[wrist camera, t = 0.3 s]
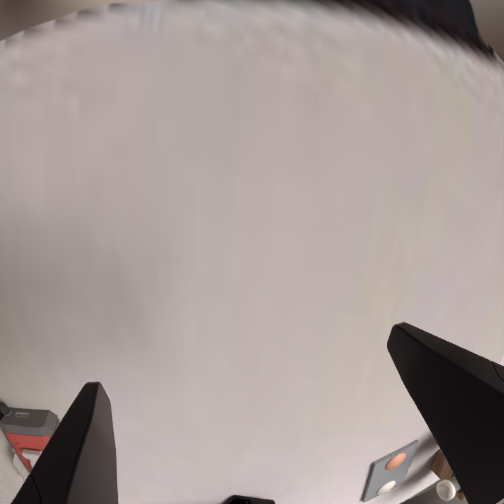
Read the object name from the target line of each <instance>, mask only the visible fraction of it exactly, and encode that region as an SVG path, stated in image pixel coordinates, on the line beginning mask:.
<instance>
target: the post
mask: <svg viewBox="0 0 504 504" xmlns="http://www.w3.org/2000/svg"><path fill="white" fill-rule="evenodd" d="M430 469H431V470H432V471H433V472H434V473H435V474H436V475H437V476H438V477H439V478H440V479H441V480H445V479H446V480H449V479H450V478H451V477H453V476H454V474H453V472H452V470H451V468H450V466H449V464H448V462H447V460H446V458H445V457H444V455H443V453H442V451H441V449H439V450H438V452H437V455H436V457H435V459H434V461H433V463H432V466H431V468H430ZM455 495H456V496H457V497H458V498H459V499H460V500H461V501H463V500H465V499H466V498H465V496H464V494H463V492H462V490H461V489H460V490H458V491H457V492H456V493H455Z"/></svg>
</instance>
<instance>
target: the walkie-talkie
mask: <svg viewBox="0 0 504 504" xmlns="http://www.w3.org/2000/svg"><path fill="white" fill-rule="evenodd" d="M0 408H1V409H2V410H3V411H4V412H5V414H4V416H3V414H2V412H1V410H0V421H1V422H0V427H1V430H2V431H3V433H4V434H5V436H6V438H7V439H8V441H9V443H10V445H11V446H12V450H13V452H14V453H15V454H14V459H13V464H14V466H15V467H16V469H17V470H18V472H19V473H20V474H21V476H22V477H23V478H24V481H25V480H26V478H27V477H28V475H29V474H31V473H30V472H31V470H32V468H33V466H34V465H35V463H36V461H37V460H38V458H39V456H40V455H41V453H42V451H43V450H44V448H45V446H46V445H47V443H48V441H49V440H50V438H51V436H52V435H53V433H54V432H55V430H56V428H57V427H58V425H59V424H60V422H59V419H58V418H57V415H55V414H54V413H53V412H51V411H50V410H34V409H21V408H10V407H7V406H6V404H4V403H1V402H0Z"/></svg>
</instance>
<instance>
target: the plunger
mask: <svg viewBox="0 0 504 504" xmlns="http://www.w3.org/2000/svg"><path fill="white" fill-rule="evenodd" d="M460 489H461V488H460V486H459V484H458V482H457V480H456V478H455V476H453V477H451V478H450V479H449V480H446V479H445V480H442V481H441V482H439V483H438V484H437V493H438V495H439V497H440V498H441V499H443V500H445V501H449V500H450V499H452V498H453V497H454V496H455V493H456V492H457V491H458V490H460Z"/></svg>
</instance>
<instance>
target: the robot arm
mask: <svg viewBox="0 0 504 504" xmlns="http://www.w3.org/2000/svg"><path fill="white" fill-rule="evenodd" d="M387 349H388V351H389V353H390V356H391V358H392V360H393V362H394V364H395V366H396V368H397V370H398V373H399V375H400V377H401V379H402V381H403V383H404V385H405V387H406V389H407V391H408V392H409V394H410V396H411V398H412V399H413V401H414V403H415V404H416V406H417V408H418V410H419V411H420V413H421V415H422V417H423V418H424V420H425V422H426V424H427V426H428V427H429V429H430V431H431V433H432V434H433V436H434V438H435V440H436V442H437V444H438V445H439V447H440V449H441V451H442V453H443V455H444V457H445V458H446V460H447V462H448V464H449V466H450V468H451V470H452V472H453V474H454V476H455V478H456V480H457V482H458V484H459V486H460V488H461V490H462V492H463V494H464V496H465V498H466V500H467V502H468V504H496V503H498V502H499V501H500V500H502V499H503V498H504V366H502V365H500V364H497V363H495V362H493V361H490V360H488V359H486V358H484V357H482V356H479V355H477V354H475V353H473V352H470V351H468V350H466V349H464V348H461V347H459V346H457V345H455V344H453V343H450V342H448V341H446V340H444V339H441V338H439V337H437V336H435V335H432V334H430V333H428V332H426V331H423V330H421V329H419V328H417V327H415V326H412V325H410V324H408V323H405V322H402V323H399V324H395V325H394V326H393V327H392V330H391V333H390V336H389V339H388V342H387ZM30 473H31V474H29V475H28V477H27V478H26V480H25V482H24V484H23V485H22V487H21V489H20V490H19V492H18V494H17V495H16V497H15V498H14V500H13V501H12V503H11V504H118V490H117V464H116V447H115V439H114V431H113V422H112V411H111V403H110V400H109V398H108V396H107V394H106V392H105V390H104V388H103V386H102V384H101V383H100V382H87V383H86V384H85V385H84V386H83V388H82V389H81V391H80V392H79V394H78V396H77V397H76V399H75V400H74V402H73V403H72V405H71V406H70V408H69V409H68V411H67V413H66V414H65V416H64V417H63V419H62V420H61V422H60V424H59V425H58V427H57V428H56V430H55V432H54V433H53V435H52V436H51V438H50V440H49V441H48V443H47V445H46V446H45V448H44V450H43V451H42V453H41V455H40V456H39V458H38V460H37V461H36V463H35V465H34V466H33V468H32V470H31V472H30ZM225 504H275V502H274V501H273V500H264V499H256V498H249V497H242V496H233V497H232V498H231V499H230V500H229V501H228V502H226V503H225ZM503 504H504V503H503Z"/></svg>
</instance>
